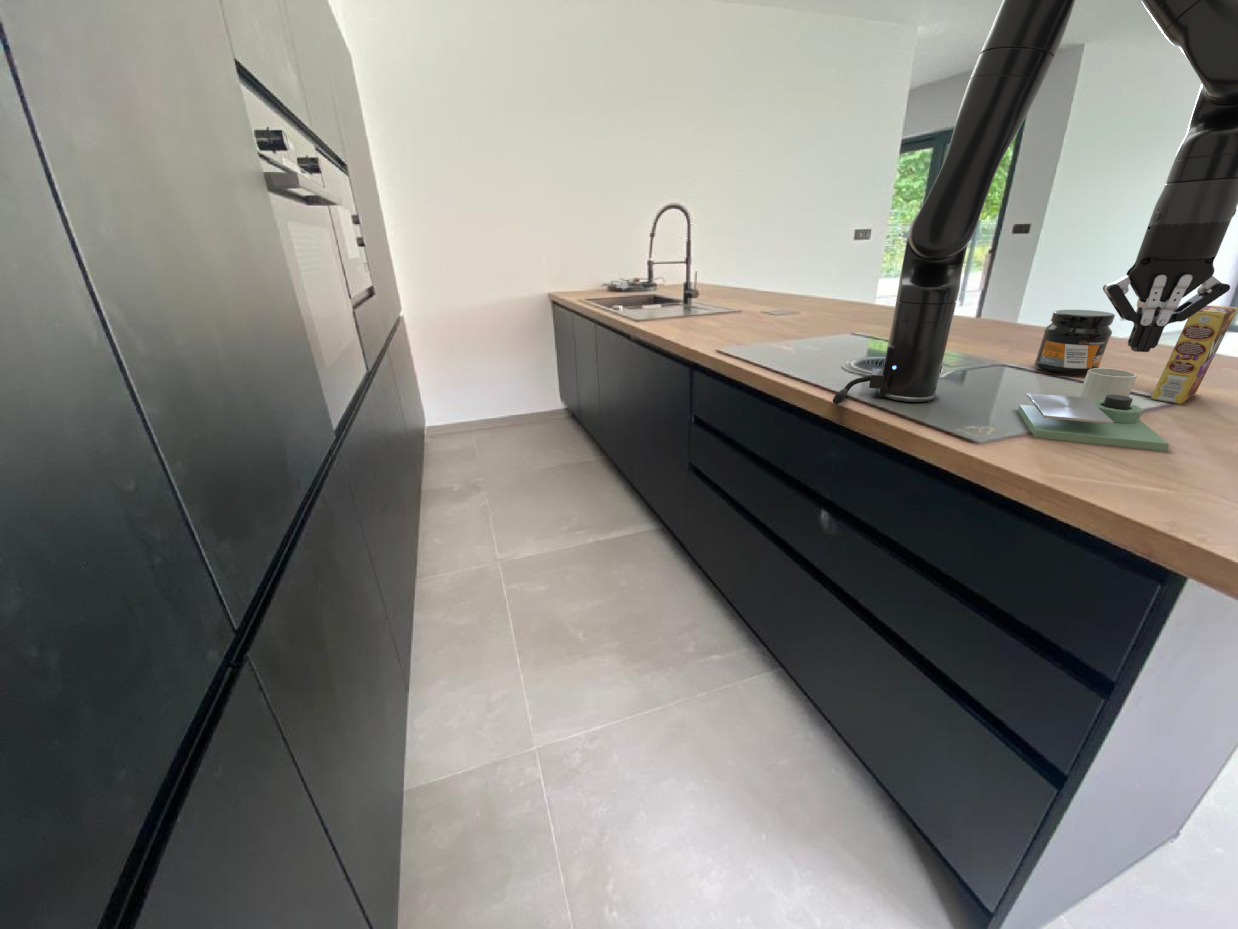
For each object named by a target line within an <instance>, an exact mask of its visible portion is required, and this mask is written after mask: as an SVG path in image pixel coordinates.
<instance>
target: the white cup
mask: <svg viewBox="0 0 1238 929" xmlns="http://www.w3.org/2000/svg"><path fill="white" fill-rule="evenodd" d="M1137 377H1138V374H1137V373H1136V372H1132V371H1129V370H1125V369H1124V370H1123V369H1117V368H1105V367H1099V368H1093V369H1089V370H1088V372H1087V375H1086V376H1085V378H1084V380H1083V383H1082V386H1081V389H1080V392H1079V394H1078V397H1082V398H1088V399H1089V400H1091V401H1098V400H1105V398H1106V396H1107V395H1122V396H1127V397H1130V395H1131V392H1132V390H1133V387H1134V385H1135V382H1136V380H1137Z"/></svg>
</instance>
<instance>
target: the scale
mask: <svg viewBox="0 0 1238 929" xmlns="http://www.w3.org/2000/svg"><path fill="white" fill-rule="evenodd" d="M1092 402H1093V403H1094V404H1095V405H1096V406H1097V407H1098V408H1099V409H1100V410H1101V411H1103V412H1104V413H1105V414H1106V415H1107V416H1108V417H1109V418H1110V419H1111V420H1112V421H1113V422H1114V423H1113V424H1104V423H1093V422H1083V421H1072V420H1062V419H1051V418H1044V417H1043V416H1042V415H1041V413H1040V412H1039V411H1038V409H1037V408H1036V407H1035V405H1029V404H1019V406H1018V409H1017V413H1018V414H1019V416H1020V417H1021V418H1022V420H1023V422H1024V424H1025V425H1026V426H1027V428H1028V429H1029V431H1030V434H1032V436H1033V437H1034V438H1039V439H1049V440H1056V441H1057V440H1058V441H1067V442H1075V443H1085V444H1094V445H1103V446H1112V447H1122V448H1130V449H1131V448H1132V449H1140V450H1150V451H1157V452H1159V451H1160V452H1167V450H1168V448H1169V446H1170V443H1169V442H1168V441H1166V440H1165V439H1164V438H1162V437H1161V435H1159V434H1158V433H1157V432H1155V431H1154V430H1153V429H1152V428H1150V427H1149V426H1148V425H1147V424H1146V423H1144V422H1143V421H1142V420H1141V416H1142V415H1143V413H1144V409H1143V408H1142V407H1140V406H1139V405H1135V404H1132V403H1131V405H1130V408H1129V410H1120V409H1113V408H1107V407H1104V406H1103V403H1104V400H1098V401H1092Z"/></svg>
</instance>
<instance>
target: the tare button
mask: <svg viewBox="0 0 1238 929" xmlns="http://www.w3.org/2000/svg"><path fill="white" fill-rule="evenodd" d="M1132 403H1133V398H1132V397H1130V396H1129V397H1127V396H1122V395H1107V396H1106V398H1105V400H1104V403H1103V406H1104V407H1107V408H1113V409H1120V410H1129V408H1130V405H1131V404H1132Z"/></svg>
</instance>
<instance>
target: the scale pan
mask: <svg viewBox="0 0 1238 929" xmlns="http://www.w3.org/2000/svg"><path fill="white" fill-rule="evenodd" d="M1026 397H1027V398H1028V399H1029V400H1030V402H1031V403H1032V404H1033V406H1035V407H1036V408H1037V409H1038V411H1039V412H1040V413H1041V415H1042V416H1043V417H1044V418H1051V419H1062V420H1072V421H1083V422H1093V423H1104V424H1113V423H1114V422H1113V421H1112V420H1111V419H1110V418H1109V417H1108V416H1107V415H1106V414H1105V413H1104V412H1103V411H1101V410H1100V409H1099V408H1098V407H1097V406H1096V405H1095V404H1094V403H1093V402H1092V401H1091V400H1089V399H1088V398H1082V397H1079V396H1069V395H1068V396H1067V395H1056V394H1055V395H1054V394H1042V393H1032V392H1031V393H1030V392H1028V393H1027V394H1026Z"/></svg>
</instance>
